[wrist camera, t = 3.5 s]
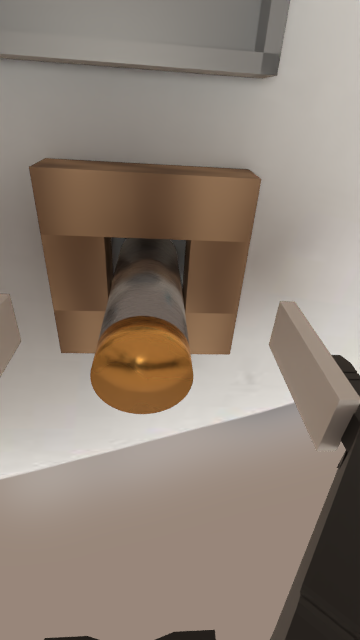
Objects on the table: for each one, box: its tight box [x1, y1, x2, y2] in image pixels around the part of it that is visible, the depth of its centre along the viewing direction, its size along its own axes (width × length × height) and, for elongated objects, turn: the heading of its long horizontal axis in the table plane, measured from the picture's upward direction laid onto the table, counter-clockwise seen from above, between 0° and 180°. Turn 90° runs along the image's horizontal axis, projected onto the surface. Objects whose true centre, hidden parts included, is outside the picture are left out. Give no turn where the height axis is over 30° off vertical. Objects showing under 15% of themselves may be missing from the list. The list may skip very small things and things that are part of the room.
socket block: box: [29, 158, 261, 354], centre depth 22 cm, size 12×12×3 cm
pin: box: [90, 238, 193, 414], centre depth 18 cm, size 4×4×12 cm
